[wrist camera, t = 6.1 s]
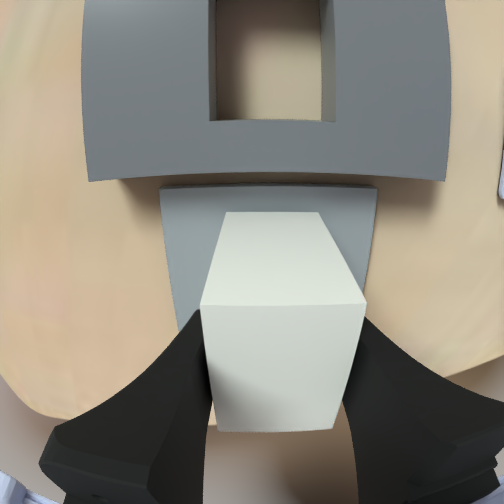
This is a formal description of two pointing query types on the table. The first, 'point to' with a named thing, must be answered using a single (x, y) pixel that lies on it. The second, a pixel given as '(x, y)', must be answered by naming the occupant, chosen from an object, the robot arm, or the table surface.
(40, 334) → the table surface
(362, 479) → the robot arm
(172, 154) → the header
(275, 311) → the plug
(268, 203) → the mat
